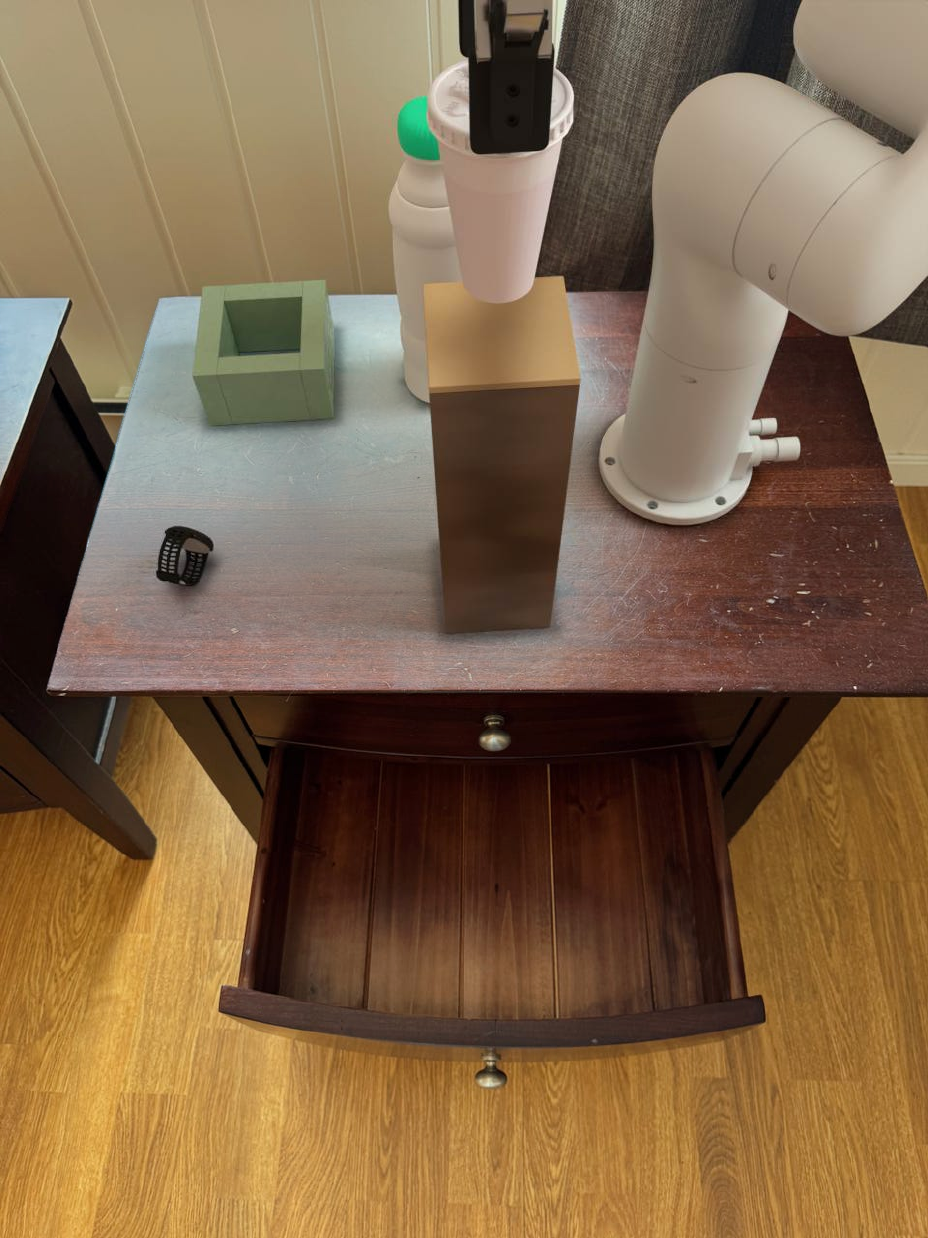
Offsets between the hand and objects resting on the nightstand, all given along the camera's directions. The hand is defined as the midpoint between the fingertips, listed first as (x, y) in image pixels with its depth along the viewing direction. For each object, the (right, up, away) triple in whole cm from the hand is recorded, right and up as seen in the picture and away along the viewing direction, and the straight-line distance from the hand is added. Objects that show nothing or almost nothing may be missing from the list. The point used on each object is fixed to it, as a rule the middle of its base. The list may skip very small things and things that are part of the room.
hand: (501, 94), depth 41 cm
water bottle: (-3, -1, +45) cm, 45 cm away
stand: (-19, 0, +45) cm, 49 cm away
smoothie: (0, -5, +8) cm, 10 cm away
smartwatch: (-23, -19, +35) cm, 46 cm away
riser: (+1, -20, +34) cm, 39 cm away
